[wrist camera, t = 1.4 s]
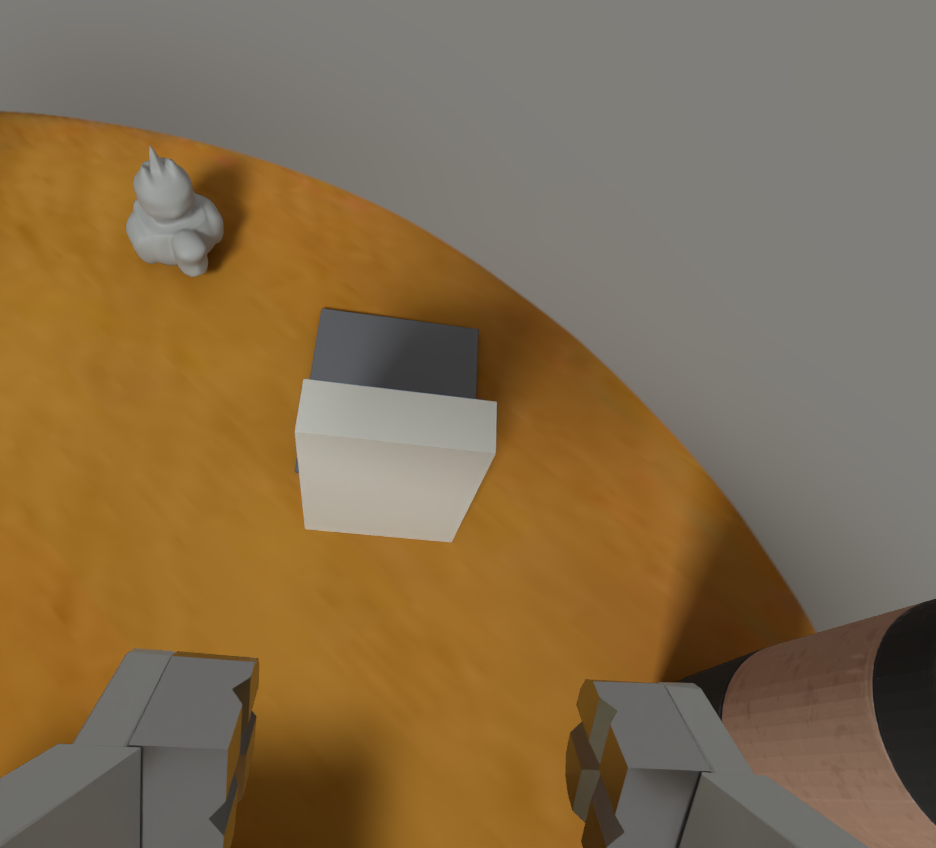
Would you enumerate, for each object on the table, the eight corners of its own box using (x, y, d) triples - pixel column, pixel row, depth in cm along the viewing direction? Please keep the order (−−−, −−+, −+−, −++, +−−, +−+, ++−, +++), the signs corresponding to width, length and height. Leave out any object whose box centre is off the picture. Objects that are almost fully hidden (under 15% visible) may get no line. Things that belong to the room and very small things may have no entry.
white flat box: (305, 529, 38) (294, 431, 27) (311, 483, 39) (304, 373, 28) (451, 542, 39) (495, 453, 28) (453, 497, 40) (497, 396, 30)
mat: (295, 472, 39) (294, 469, 39) (321, 312, 44) (321, 308, 44) (471, 490, 40) (472, 487, 40) (477, 332, 46) (478, 329, 45)
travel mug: (747, 660, 39) (1093, 559, 21) (801, 815, 36) (1260, 849, 18) (621, 685, 37) (883, 598, 19) (665, 850, 34) (1027, 926, 16)
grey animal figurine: (205, 206, 46) (182, 103, 39) (247, 279, 44) (230, 185, 37) (121, 230, 44) (82, 127, 37) (161, 308, 42) (127, 215, 35)
